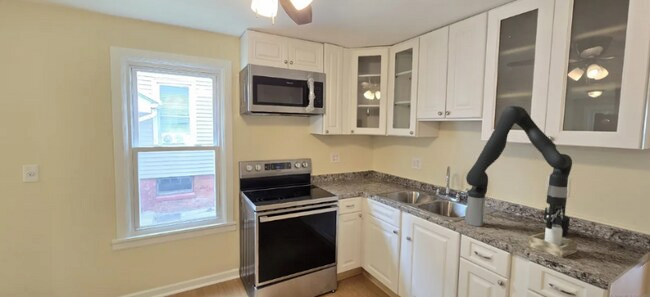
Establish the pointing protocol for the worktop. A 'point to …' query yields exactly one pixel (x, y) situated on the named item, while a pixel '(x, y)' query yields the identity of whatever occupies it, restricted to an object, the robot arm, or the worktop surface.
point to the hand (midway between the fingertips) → (553, 227)
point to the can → (554, 234)
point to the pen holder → (563, 225)
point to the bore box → (553, 245)
